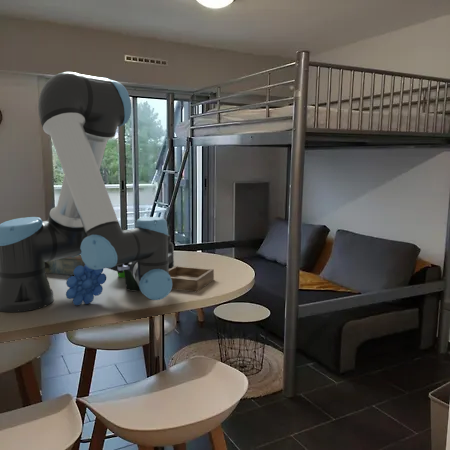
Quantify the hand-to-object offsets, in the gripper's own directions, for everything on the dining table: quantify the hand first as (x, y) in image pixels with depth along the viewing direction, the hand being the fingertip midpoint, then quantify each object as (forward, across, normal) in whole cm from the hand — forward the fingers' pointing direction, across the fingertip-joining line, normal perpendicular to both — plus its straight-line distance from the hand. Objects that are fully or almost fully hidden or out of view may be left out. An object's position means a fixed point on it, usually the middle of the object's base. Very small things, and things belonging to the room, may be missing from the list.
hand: (134, 254), depth 135 cm
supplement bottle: (+19, +14, -10) cm, 26 cm away
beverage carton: (+24, -19, -10) cm, 32 cm away
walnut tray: (-3, +16, -10) cm, 19 cm away
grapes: (-12, -16, -10) cm, 22 cm away
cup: (+12, -1, -10) cm, 16 cm away
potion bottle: (-3, 0, -10) cm, 11 cm away
